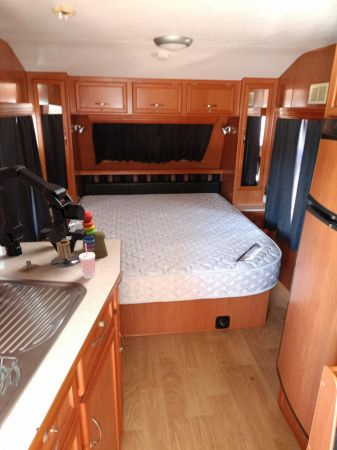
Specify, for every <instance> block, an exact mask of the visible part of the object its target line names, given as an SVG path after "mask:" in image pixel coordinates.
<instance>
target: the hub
mask: <svg viewBox="0 0 337 450" xmlns="http://www.w3.org/2000/svg"><path fill="white" fill-rule="evenodd" d="M79 255H80V254H78V253H73V255H72V256H71V257H69V258H64V259H61V258H59V257H58V255H57V256H56V257H53V259H51V260H50V265H51V266H52V267H54V268H58V269H59V268H60V269H61V268H62V269H64V268H65V269H67V268H71V267H74V266H76V265H78V264H79V263H80V264H81V261H80V259H79Z"/></svg>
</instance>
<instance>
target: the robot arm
mask: <svg viewBox="0 0 337 450" xmlns="http://www.w3.org/2000/svg"><path fill="white" fill-rule="evenodd" d="M15 178H18V179H19V180H21V181H22V182H24V183H25V184H27V185H29V187H32V188H33V189H35V190H36V191H38V192H39V193H41V196H42V198H43V199H44V200H45V201H46V202H48V204H47V205H46V206H45V208H46V209H50V211H51V216H52V220H53V222H51V228H46V227H45V228H43V229H41V230H40V231H39V232H38V234H37V237H38V239H39V240H45V241H46V242H49V243H50V244H51V245H52V247H53V248H54V250H55V252H56V253H57V254H58V252H57V246H56V243H57V242H61V241H62V239H63V238H66V236H68V237H70V239H69V242H70V245H71V253H73V254H74V253H75V248H76V244H77V241H82V240H83V239H84V237H85V236H86V235H87V234H86V231H85V229H82V228H76V229H75V230H74V231H71V227H69V221H70V220H71V221H83V219H84V216H85V211H86V210H85V208H84V207H83V206H82V204H81V202H77V203H75V202H74V200H73V199H72V198H71V196H70V195H69V194H68V192H67V190H66V188H64V187H62V186H61V185H58V184H56V183H50V182H48V181H46V180H45V179H43V178H42V177H41V176H39V175H37V174H35V173H34V172H32V171H31V170H29V169H28V168H26V166H24V165H23V164H19V165H15V166H12V167H8V166H5V167H1V168H0V204H1V208H2V213H3V218H4V225H3V227H2V237H1V238H0V247H3V248H4V250H5V254H6V255H7V257H10V258H12V257H19V256H21V255H23V253H24V252H23V249H22V246H21V243H20V242H21V241H23V238H24V236H25V233H26V231H25V226H24V223H20V221H18V217H17V216H18V215H17V211H16V204H15V198H14V194H13V187H14V185H15Z"/></svg>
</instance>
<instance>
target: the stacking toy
mask: <svg viewBox="0 0 337 450" xmlns="http://www.w3.org/2000/svg"><path fill="white" fill-rule="evenodd" d="M81 223H82V228H81V229H85V231H86V234H87V235H86V236H85V237H84V239H83V240H81V241H82V251H84V252H86V249H85V243H86V246H87V252H93V253H94V247H95V240H94V239H93V234H94V233H95V232H97V231H96V229H95V227H96V226H95V225H94V221H93V213H92V212H91V211H89V210H85V216H84V219H83V220H82V222H81Z"/></svg>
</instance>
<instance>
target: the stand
mask: <svg viewBox="0 0 337 450" xmlns="http://www.w3.org/2000/svg"><path fill="white" fill-rule="evenodd" d="M41 267H42V265H41V264H36V263H32V262H31V260H27V261H25V265H24V266H22V267H20V268H18V269H17V270H16V272H21V273H25V274H30V275H31V273H34V271H36V270H38V269H39V268H41Z"/></svg>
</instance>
